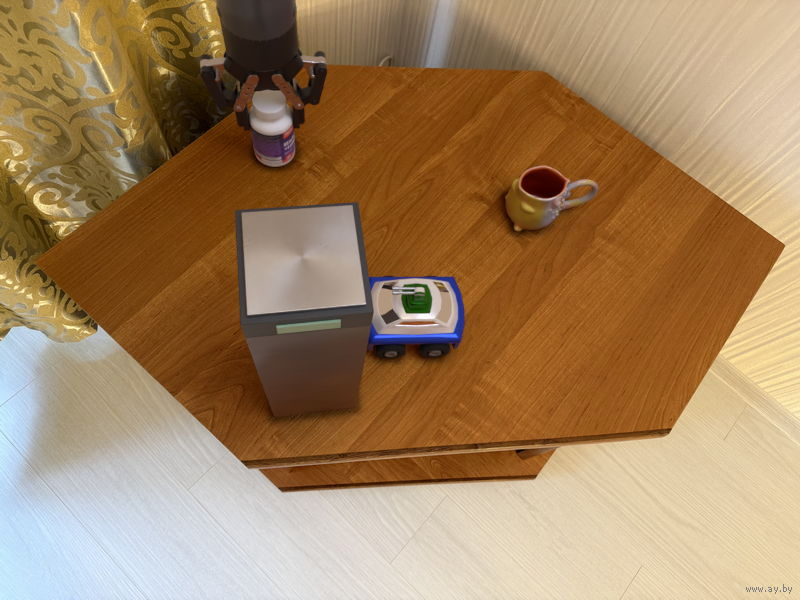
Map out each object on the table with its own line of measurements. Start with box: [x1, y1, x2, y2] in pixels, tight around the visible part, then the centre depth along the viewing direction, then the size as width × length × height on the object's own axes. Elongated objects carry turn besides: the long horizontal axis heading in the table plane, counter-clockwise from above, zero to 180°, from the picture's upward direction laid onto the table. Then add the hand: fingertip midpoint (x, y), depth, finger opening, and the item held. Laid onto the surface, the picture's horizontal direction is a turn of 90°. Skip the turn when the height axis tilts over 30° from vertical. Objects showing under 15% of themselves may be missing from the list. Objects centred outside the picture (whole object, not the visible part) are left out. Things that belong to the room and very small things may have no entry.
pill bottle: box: [248, 90, 296, 168], centre depth 75 cm, size 5×5×10 cm
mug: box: [504, 165, 600, 232], centre depth 77 cm, size 12×7×7 cm, turn 97°
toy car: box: [367, 275, 466, 359], centre depth 67 cm, size 9×12×10 cm
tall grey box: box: [234, 201, 374, 418], centre depth 55 cm, size 9×9×28 cm
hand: (271, 123), depth 74 cm, fingers closed on pill bottle, 5 cm apart
